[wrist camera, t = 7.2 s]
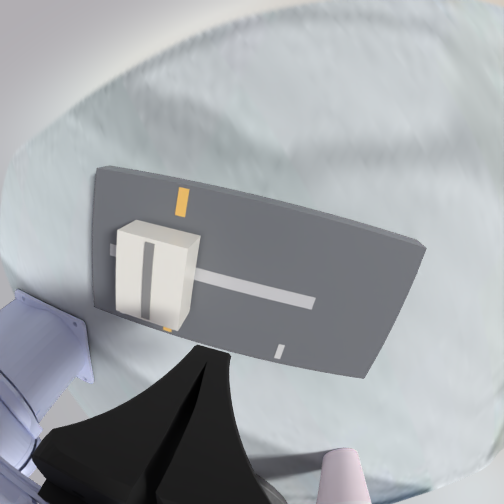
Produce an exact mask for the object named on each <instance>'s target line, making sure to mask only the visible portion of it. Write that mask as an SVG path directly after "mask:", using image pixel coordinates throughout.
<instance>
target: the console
mask: <svg viewBox="0 0 504 504" xmlns="http://www.w3.org/2000/svg"><path fill="white" fill-rule="evenodd" d="M135 220H140V221H144V222H148V223H152V224H156V225H160V226H164V227H168V228H172V229H176V230H180V231H184V232H188V233H192V234H196V235H200V236H201V237H200V243H199V250H198V256H197V262H196V269H195V276H194V282H193V289H192V297H191V304H190V311H189V313H188V315H187V317H186V318H185V320H184V322H183V324H182V325H181V327H180V329H179V330H178V331H176V330H172V329H169V328H166V327H163V326H160V325H157V324H154V323H151V322H148V321H145V320H142V319H139V318H136V317H133V316H131V315H128V314H125V313H122V312H120V311H117V310H116V247H117V230H118V229H120V228H122V227H124V226H126V225H127V224H129V223H131V222H133V221H135ZM425 251H426V247H425V246H423V245H422V244H421V243H420V242H419V241H418V240H415V239H412V238H409V237H406V236H403V235H399V234H396V233H393V232H390V231H387V230H383V229H380V228H377V227H373V226H370V225H367V224H363V223H360V222H356V221H353V220H349V219H346V218H342V217H339V216H335V215H332V214H328V213H324V212H321V211H317V210H313V209H309V208H306V207H302V206H298V205H294V204H290V203H286V202H282V201H278V200H274V199H270V198H266V197H262V196H258V195H254V194H249V193H245V192H241V191H236V190H232V189H227V188H223V187H218V186H214V185H209V184H204V183H200V182H195V181H190V180H185V179H180V178H175V177H170V176H165V175H160V174H154V173H149V172H143V171H138V170H132V169H126V168H120V167H114V166H105V167H100V168H97V171H96V181H95V193H94V209H93V235H92V269H93V295H94V307H96V308H99V309H101V310H104V311H106V312H109V313H111V314H114V315H117V316H119V317H122V318H125V319H128V320H130V321H133V322H136V323H139V324H142V325H145V326H148V327H150V328H153V329H156V330H159V331H163V332H166V333H169V334H172V335H175V336H178V337H181V338H185V339H188V340H191V341H195V342H198V343H201V344H205V345H208V346H212V347H216V348H219V349H223V350H227V351H230V352H234V353H238V354H242V355H246V356H250V357H254V358H258V359H263V360H267V361H271V362H276V363H280V364H285V365H289V366H294V367H299V368H304V369H309V370H315V371H320V372H325V373H331V374H337V375H343V376H349V377H356V378H363V379H364V378H365V376H366V375H367V373H368V371H369V369H370V368H371V366H372V364H373V362H374V361H375V359H376V357H377V355H378V353H379V352H380V350H381V348H382V346H383V344H384V342H385V340H386V338H387V336H388V334H389V333H390V331H391V329H392V327H393V325H394V323H395V321H396V318H397V316H398V314H399V312H400V310H401V308H402V306H403V304H404V301H405V299H406V297H407V295H408V293H409V290H410V288H411V286H412V283H413V281H414V279H415V276H416V274H417V271H418V269H419V266H420V264H421V261H422V259H423V256H424V254H425Z"/></svg>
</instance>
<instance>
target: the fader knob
mask: <svg viewBox="0 0 504 504" xmlns="http://www.w3.org/2000/svg"><path fill="white" fill-rule="evenodd" d="M200 237H201V236H200V235H196V234H192V233H188V232H184V231H180V230H176V229H172V228H168V227H164V226H160V225H156V224H152V223H148V222H144V221H140V220H135V221H133V222H131V223H129V224H127V225H126V226H124V227H122V228H120V229H118V230H117V247H116V310H117V311H120V312H122V313H125V314H128V315H131V316H133V317H136V318H139V319H142V320H145V321H148V322H151V323H154V324H157V325H160V326H163V327H166V328H169V329H172V330H176V331H178V330H179V329H180V327H181V325H182V324H183V322H184V320H185V318H186V317H187V315H188V313H189V311H190V304H191V297H192V289H193V282H194V276H195V269H196V262H197V256H198V250H199V243H200Z"/></svg>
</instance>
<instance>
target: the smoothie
mask: <svg viewBox="0 0 504 504" xmlns="http://www.w3.org/2000/svg"><path fill="white" fill-rule="evenodd" d="M316 504H371V500H370V496H369V492H368V488H367V485H366V481H365V477H364V473H363V470H362V466H361V462H360V459H359V455H358V452H357V451H356V450H354V449H351V448H340V449H335V450H332V451H330V452H328V453H326V454H325V455H324V457H323V462H322V470H321V477H320V483H319V490H318V496H317V502H316Z"/></svg>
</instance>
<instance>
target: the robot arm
mask: <svg viewBox="0 0 504 504" xmlns="http://www.w3.org/2000/svg"><path fill="white" fill-rule="evenodd" d="M15 298H16V299H15V300H13V301H12V302H10V303H9V304H8V305H6V306H5V307H4V308H2V309H1V310H0V504H37V502H38V503H39V504H272V503H271V501H270V500H269V498H268V496H267V495H266V493H265V491H264V490H263V488H262V486H261V485H260V483H259V481H258V479H257V477H256V475H255V473H254V471H253V469H252V466H251V464H250V462H249V460H248V457H247V455H246V452H245V450H244V447H243V444H242V441H241V439H240V435H239V432H238V429H237V425H236V421H235V417H234V412H233V407H232V401H231V393H230V384H229V365H230V359H231V356H230V354H229V353H226V352H222V351H218V350H215V349H211V348H207V347H204V346H200V345H196V346H194V347H193V349H192V350H191V351H190V352H189V353H188V354H187V355H186V356H185V357H184V358H183V359H182V360H181V361H180V362H179V363H178V364H177V365H176V366H175V367H174V368H173V369H172V370H170V371H169V372H168V373H167V374H166V375H165V376H164V377H162V378H161V379H160V380H158V381H157V382H156V383H154V384H153V385H152V386H150V387H149V388H148V389H146V390H145V391H143V392H142V393H140V394H139V395H137V396H136V397H134V398H132V399H131V400H129V401H127V402H125V403H123V404H122V405H120V406H118V407H116V408H114V409H112V410H110V411H107V412H105V413H103V414H100V415H98V416H95V417H93V418H90V419H87V420H85V421H82V422H78V423H75V424H71V425H68V426H64V427H59V428H55V429H52V430H51V431H50V432H49V434H48V435H46V436H45V438H44V439H43V440H42V441H41V439H40V438H39V435H40V433H41V432H42V431H43V428H42V427H41V426H40V425H39V422H40V421H41V420H42V418H43V417H44V416H45V414H46V413H47V412H48V411H49V409H50V408H51V407H52V405H53V404H54V403H55V402H56V400H57V399H58V398H59V397H60V395H61V394H62V393H63V392H64V390H65V389H66V388H67V387H68V385H69V384H70V383H71V382H72V380H73V379H74V378H75V377H77V378H79V379H81V380H83V381H85V382H87V383H90V384H93V382H94V376H93V370H92V365H91V359H90V352H89V346H88V338H87V330H86V324H85V323H84V321H83V320H81V319H79V318H76V317H74V316H72V315H70V314H67V313H65V312H63V311H61V310H59V309H57V308H55V307H53V306H50V305H48V304H46V303H44V302H42V301H40V300H38V299H36V298H34V297H32V296H30V295H29V294H27V293H25V292H23V291H21V290H19V289H17V290H16V291H15ZM36 468H38V469H39V470H40V472H41V473H42V474H43V475H44V477H45V478H46V481H45V482H44V484H43V485H42V487H41V486H40V485H38V484H37V483H35V482H34V481H32V480H31V479H30V478H28V477H29V476H30V475H31V474H32V473H33V472H34V471H35V469H36Z"/></svg>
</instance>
